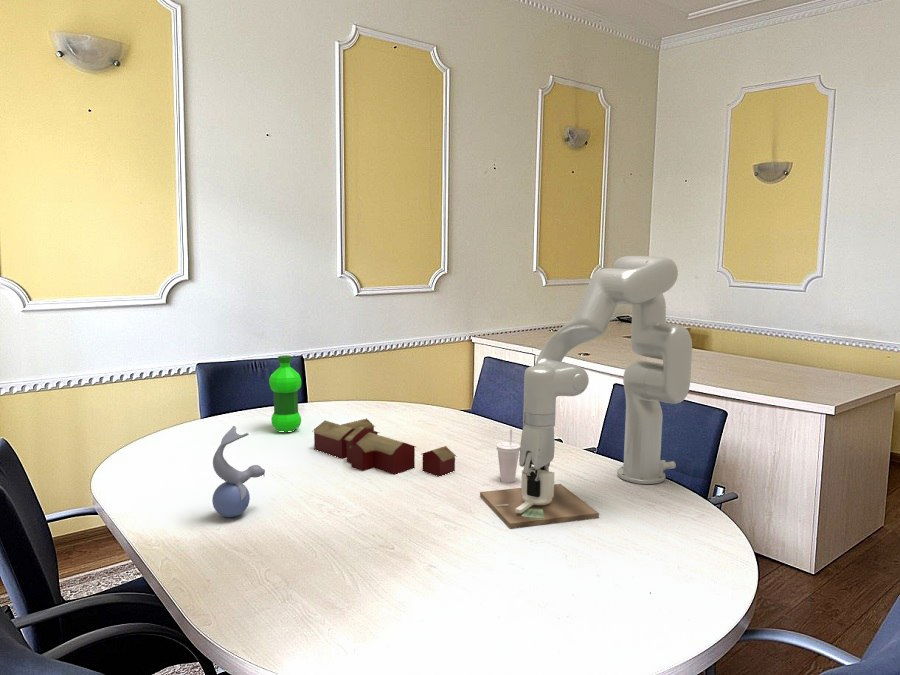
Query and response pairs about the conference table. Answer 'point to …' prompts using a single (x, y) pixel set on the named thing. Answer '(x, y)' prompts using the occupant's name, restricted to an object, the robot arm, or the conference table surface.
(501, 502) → the dial board
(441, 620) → the conference table surface
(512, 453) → the smoothie
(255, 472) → the seal
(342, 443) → the toy houses
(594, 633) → the conference table surface
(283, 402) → the plastic bottle
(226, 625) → the conference table surface
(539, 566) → the conference table surface
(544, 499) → the peg knob
